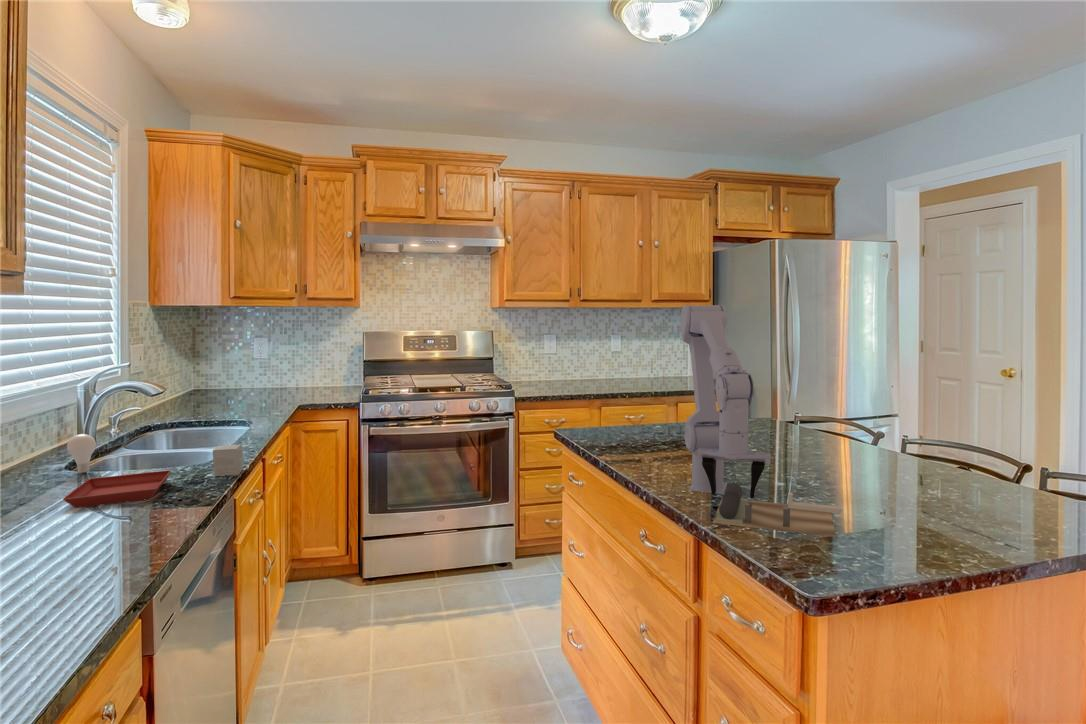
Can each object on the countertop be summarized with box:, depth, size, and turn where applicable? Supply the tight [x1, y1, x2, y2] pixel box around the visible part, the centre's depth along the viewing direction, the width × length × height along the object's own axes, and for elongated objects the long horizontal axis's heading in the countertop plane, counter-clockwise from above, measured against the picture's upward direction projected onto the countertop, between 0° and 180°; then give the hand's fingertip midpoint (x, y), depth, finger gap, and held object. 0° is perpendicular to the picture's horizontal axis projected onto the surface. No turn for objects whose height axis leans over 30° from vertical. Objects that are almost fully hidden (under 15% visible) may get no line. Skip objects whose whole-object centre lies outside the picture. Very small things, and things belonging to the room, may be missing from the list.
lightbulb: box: [66, 433, 97, 475], centre depth 164 cm, size 6×6×11 cm
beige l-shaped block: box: [787, 491, 843, 514], centre depth 113 cm, size 2×9×3 cm, turn 67°
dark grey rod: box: [719, 483, 743, 519], centre depth 125 cm, size 14×3×3 cm, turn 157°
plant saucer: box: [62, 470, 172, 508], centre depth 144 cm, size 18×18×3 cm
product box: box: [212, 443, 244, 477], centre depth 162 cm, size 6×6×7 cm
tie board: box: [712, 497, 837, 538], centre depth 121 cm, size 17×22×4 cm
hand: (732, 495), depth 125 cm, fingers open, 7 cm apart
